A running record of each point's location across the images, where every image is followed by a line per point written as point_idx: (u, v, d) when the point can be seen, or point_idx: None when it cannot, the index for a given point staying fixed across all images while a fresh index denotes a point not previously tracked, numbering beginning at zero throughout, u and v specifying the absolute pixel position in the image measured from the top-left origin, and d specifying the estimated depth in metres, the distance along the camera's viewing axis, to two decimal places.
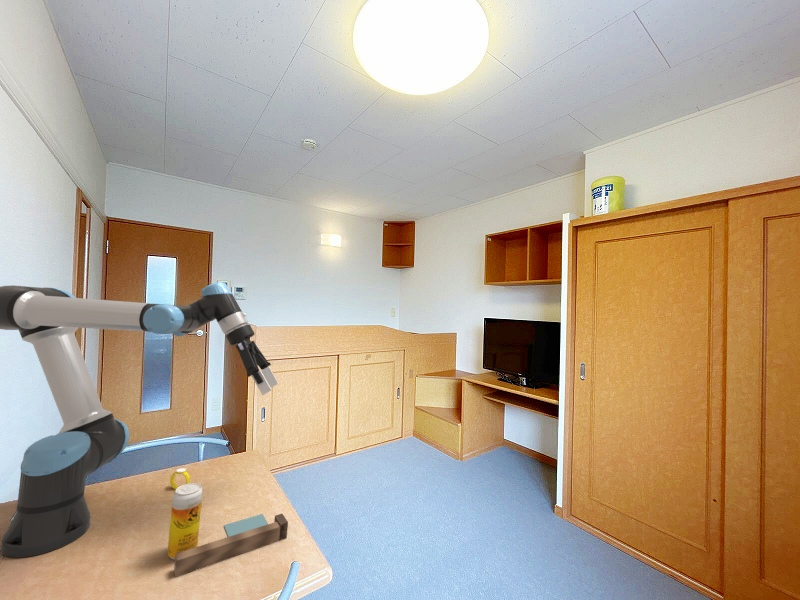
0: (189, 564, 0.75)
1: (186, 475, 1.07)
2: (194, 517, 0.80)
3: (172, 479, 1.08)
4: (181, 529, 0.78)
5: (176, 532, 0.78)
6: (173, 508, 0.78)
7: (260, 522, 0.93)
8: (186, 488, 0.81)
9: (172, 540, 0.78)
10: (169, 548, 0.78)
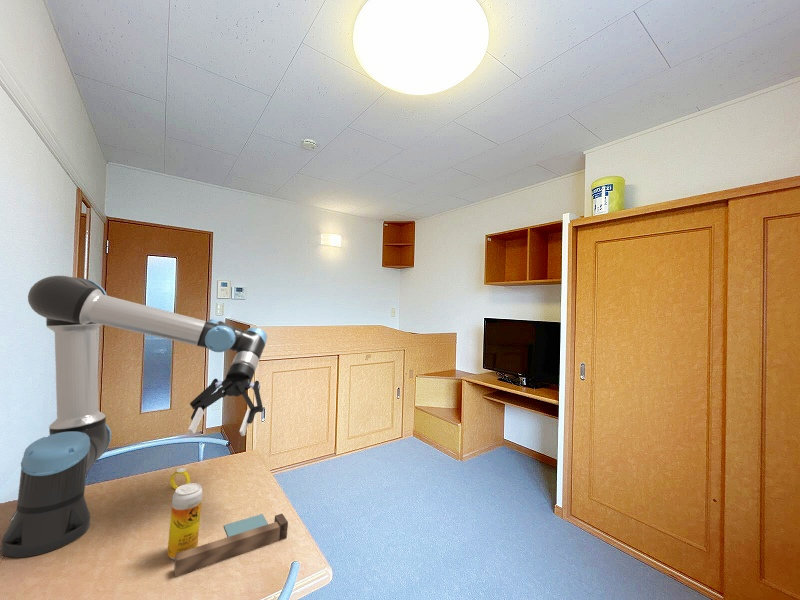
0: (189, 564, 0.75)
1: (186, 475, 1.07)
2: (194, 517, 0.80)
3: (172, 479, 1.08)
4: (181, 529, 0.78)
5: (176, 532, 0.78)
6: (173, 508, 0.78)
7: (260, 522, 0.93)
8: (186, 488, 0.81)
9: (172, 540, 0.78)
10: (169, 548, 0.78)
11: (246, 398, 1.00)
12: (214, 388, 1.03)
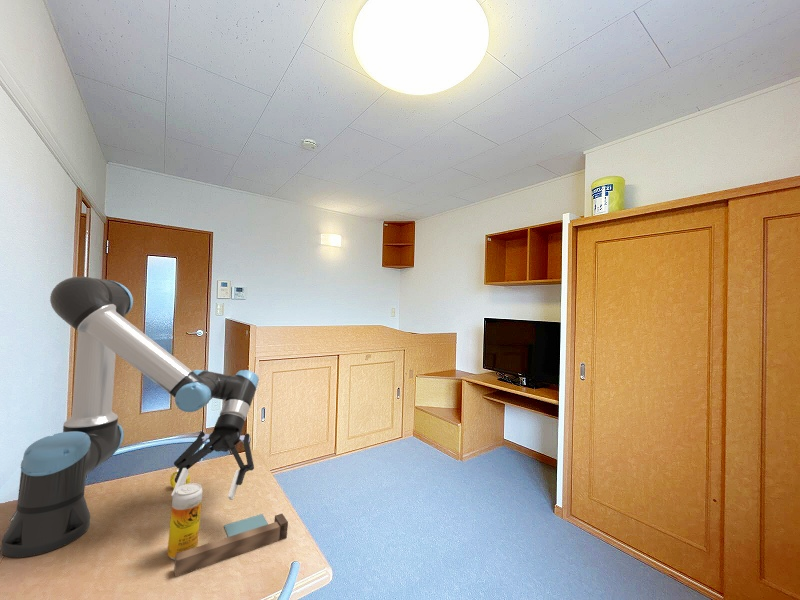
0: (189, 564, 0.75)
1: None
2: (194, 517, 0.80)
3: (172, 479, 1.08)
4: (181, 529, 0.78)
5: (176, 532, 0.78)
6: (173, 508, 0.78)
7: (260, 522, 0.93)
8: (186, 488, 0.81)
9: (172, 540, 0.78)
10: (169, 548, 0.78)
11: (235, 455, 0.92)
12: (200, 443, 0.95)
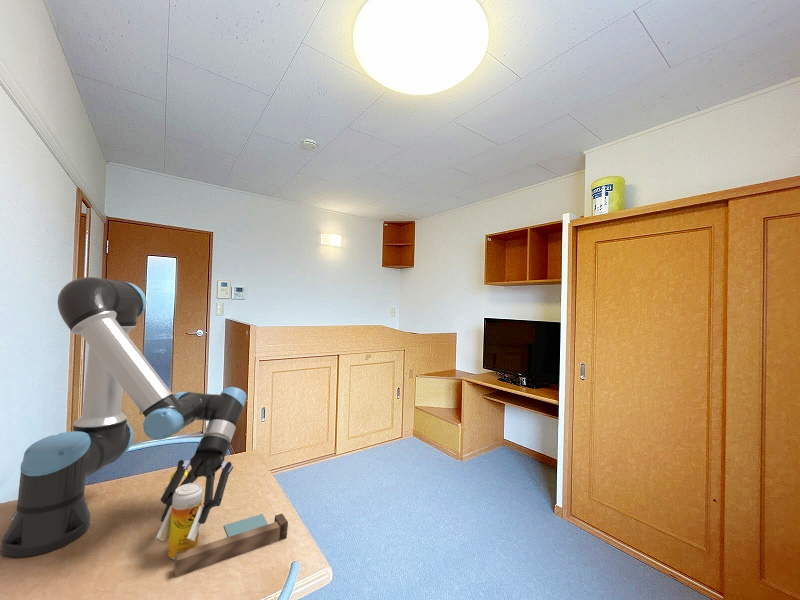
0: (189, 564, 0.75)
1: (186, 475, 1.07)
2: (194, 517, 0.80)
3: None
4: (181, 529, 0.78)
5: (176, 532, 0.78)
6: (173, 508, 0.78)
7: (260, 522, 0.93)
8: (186, 488, 0.81)
9: (172, 540, 0.78)
10: (169, 548, 0.78)
11: (207, 486, 0.85)
12: (183, 471, 0.88)
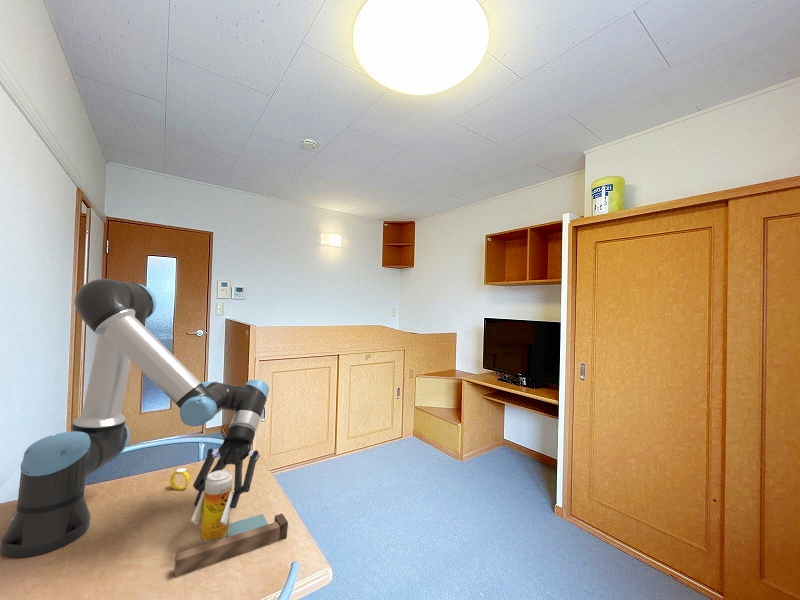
0: (189, 564, 0.75)
1: (186, 475, 1.07)
2: (225, 502, 0.83)
3: (172, 479, 1.08)
4: (213, 513, 0.82)
5: (209, 516, 0.81)
6: (206, 493, 0.82)
7: (260, 522, 0.93)
8: (217, 474, 0.85)
9: (205, 523, 0.81)
10: (202, 531, 0.82)
11: (236, 473, 0.88)
12: (212, 459, 0.91)
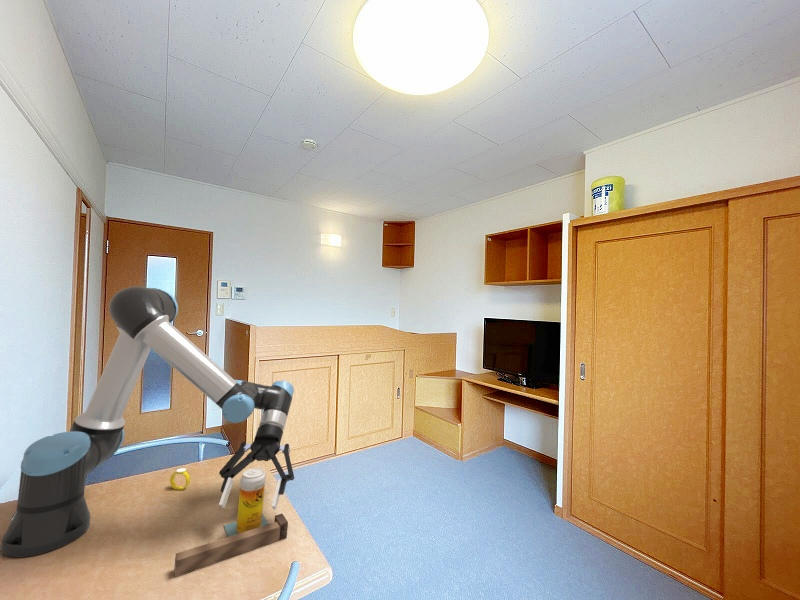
0: (189, 564, 0.75)
1: (186, 475, 1.07)
2: (260, 498, 0.89)
3: (172, 479, 1.08)
4: (249, 508, 0.87)
5: (245, 511, 0.87)
6: (242, 490, 0.88)
7: None
8: (251, 472, 0.91)
9: (241, 518, 0.87)
10: (239, 525, 0.87)
11: (277, 465, 0.95)
12: (242, 452, 0.97)
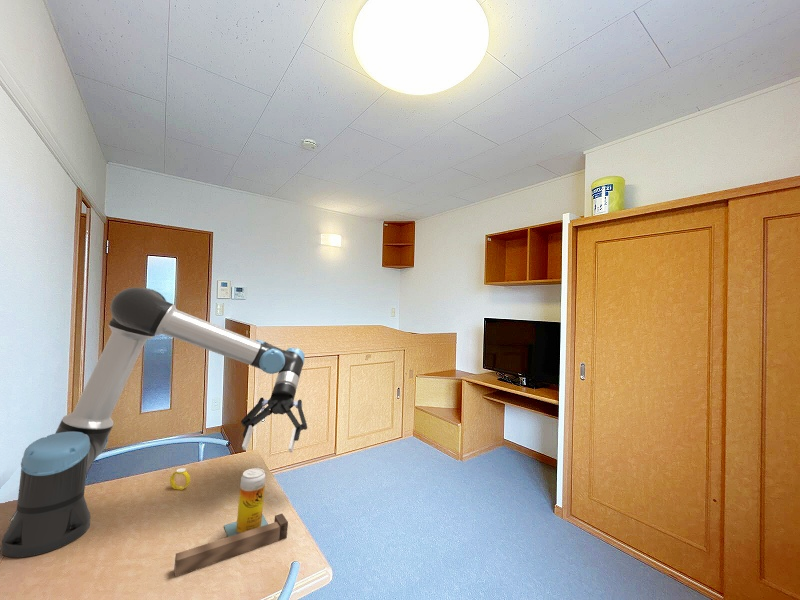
0: (189, 564, 0.75)
1: (186, 475, 1.07)
2: (260, 498, 0.89)
3: (172, 479, 1.08)
4: (249, 508, 0.87)
5: (245, 511, 0.87)
6: (242, 490, 0.88)
7: None
8: (251, 472, 0.91)
9: (241, 518, 0.87)
10: (239, 525, 0.87)
11: (291, 416, 1.08)
12: (261, 406, 1.10)
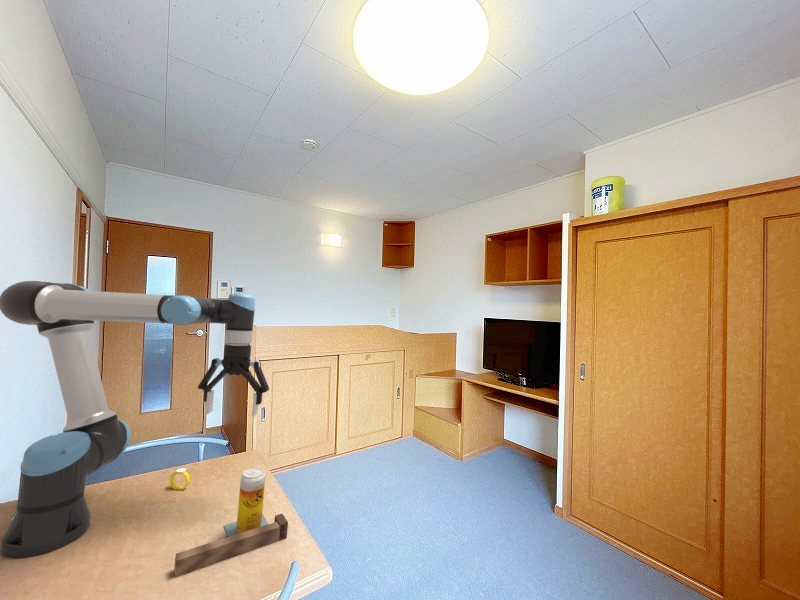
0: (189, 564, 0.75)
1: (186, 475, 1.07)
2: (259, 498, 0.89)
3: (172, 479, 1.08)
4: (249, 508, 0.87)
5: (245, 511, 0.87)
6: (242, 490, 0.88)
7: None
8: (251, 472, 0.91)
9: (241, 518, 0.87)
10: (239, 525, 0.87)
11: (250, 382, 1.02)
12: (216, 367, 1.03)
